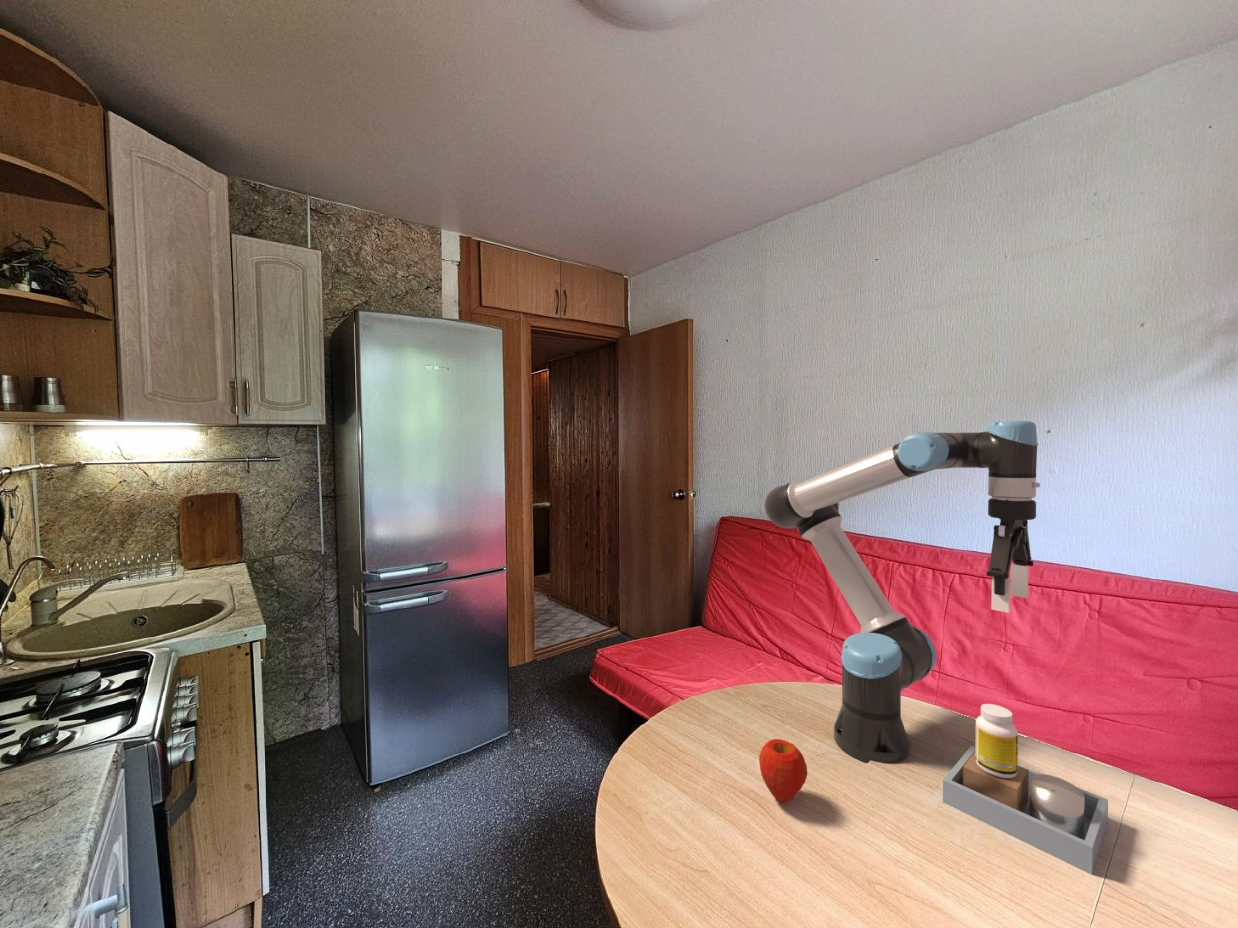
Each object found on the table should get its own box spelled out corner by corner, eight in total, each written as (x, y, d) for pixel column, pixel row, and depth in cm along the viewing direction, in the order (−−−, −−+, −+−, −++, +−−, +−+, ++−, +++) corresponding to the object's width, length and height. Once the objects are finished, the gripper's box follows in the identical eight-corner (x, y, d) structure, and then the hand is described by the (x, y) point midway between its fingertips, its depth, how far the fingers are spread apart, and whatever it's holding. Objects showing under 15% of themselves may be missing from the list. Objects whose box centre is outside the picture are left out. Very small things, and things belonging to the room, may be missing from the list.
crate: (942, 806, 91) (943, 779, 90) (971, 769, 101) (971, 745, 100) (1091, 879, 75) (1092, 847, 75) (1107, 827, 85) (1108, 799, 85)
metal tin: (1024, 825, 85) (1025, 785, 85) (1034, 805, 89) (1035, 768, 89) (1079, 850, 79) (1080, 808, 79) (1087, 828, 84) (1088, 789, 83)
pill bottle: (1025, 781, 87) (1026, 721, 87) (986, 777, 88) (986, 717, 88) (1005, 759, 93) (1005, 702, 93) (968, 756, 94) (969, 700, 94)
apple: (813, 797, 93) (813, 742, 93) (795, 823, 87) (795, 764, 87) (771, 777, 99) (771, 725, 99) (751, 800, 93) (750, 744, 92)
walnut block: (962, 797, 91) (963, 766, 91) (976, 779, 96) (976, 749, 96) (1016, 822, 85) (1017, 789, 85) (1028, 801, 90) (1028, 769, 90)
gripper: (1018, 505, 87) (1017, 622, 88) (1050, 494, 103) (1048, 594, 103) (968, 502, 93) (967, 612, 94) (1005, 492, 109) (1004, 587, 109)
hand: (1010, 603), depth 99 cm, fingers open, 13 cm apart
